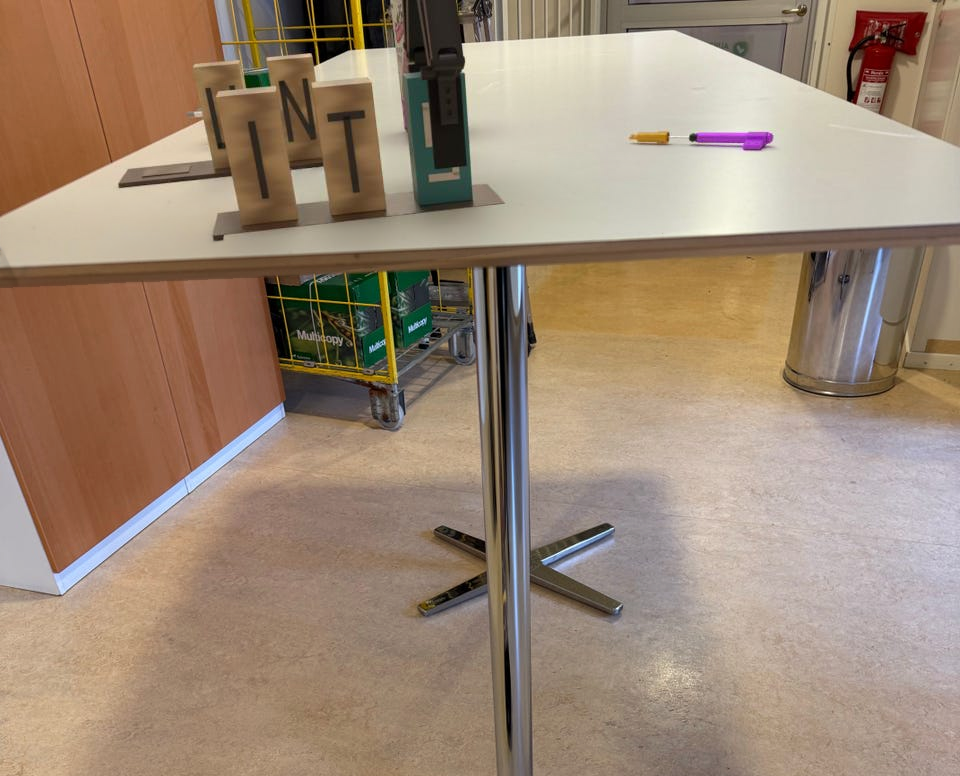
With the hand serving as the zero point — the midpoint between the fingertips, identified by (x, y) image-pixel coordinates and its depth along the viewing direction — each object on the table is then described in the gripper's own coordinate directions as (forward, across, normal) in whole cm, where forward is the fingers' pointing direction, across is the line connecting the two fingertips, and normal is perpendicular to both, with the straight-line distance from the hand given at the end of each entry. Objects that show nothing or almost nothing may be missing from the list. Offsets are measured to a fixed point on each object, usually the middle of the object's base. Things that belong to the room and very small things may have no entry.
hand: (439, 154), depth 83 cm
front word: (+4, 0, +8) cm, 9 cm away
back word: (+4, +30, +20) cm, 36 cm away
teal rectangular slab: (+4, 0, 0) cm, 4 cm away
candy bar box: (+4, +39, -4) cm, 39 cm away
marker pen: (+4, +14, -30) cm, 33 cm away
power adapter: (+4, +51, +21) cm, 55 cm away
